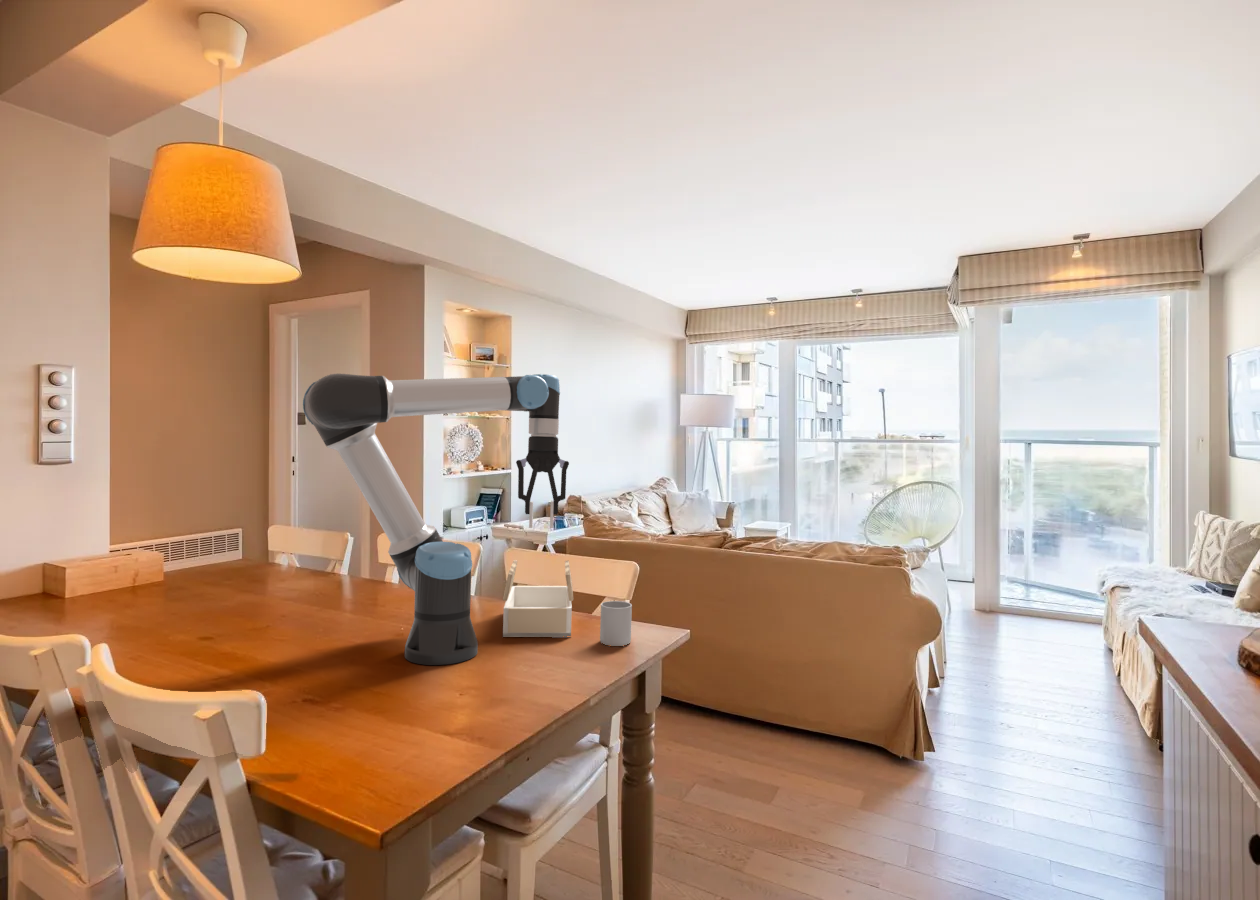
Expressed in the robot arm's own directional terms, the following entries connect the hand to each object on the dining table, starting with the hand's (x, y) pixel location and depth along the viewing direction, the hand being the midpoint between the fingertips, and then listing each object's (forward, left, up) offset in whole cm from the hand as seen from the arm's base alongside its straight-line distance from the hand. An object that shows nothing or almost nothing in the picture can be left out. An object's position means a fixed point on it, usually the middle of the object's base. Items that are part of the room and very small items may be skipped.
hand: (541, 527), depth 168 cm
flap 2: (0, -7, -13) cm, 15 cm away
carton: (0, 0, -25) cm, 25 cm away
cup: (-15, -19, -25) cm, 35 cm away
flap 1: (0, +7, -13) cm, 15 cm away
